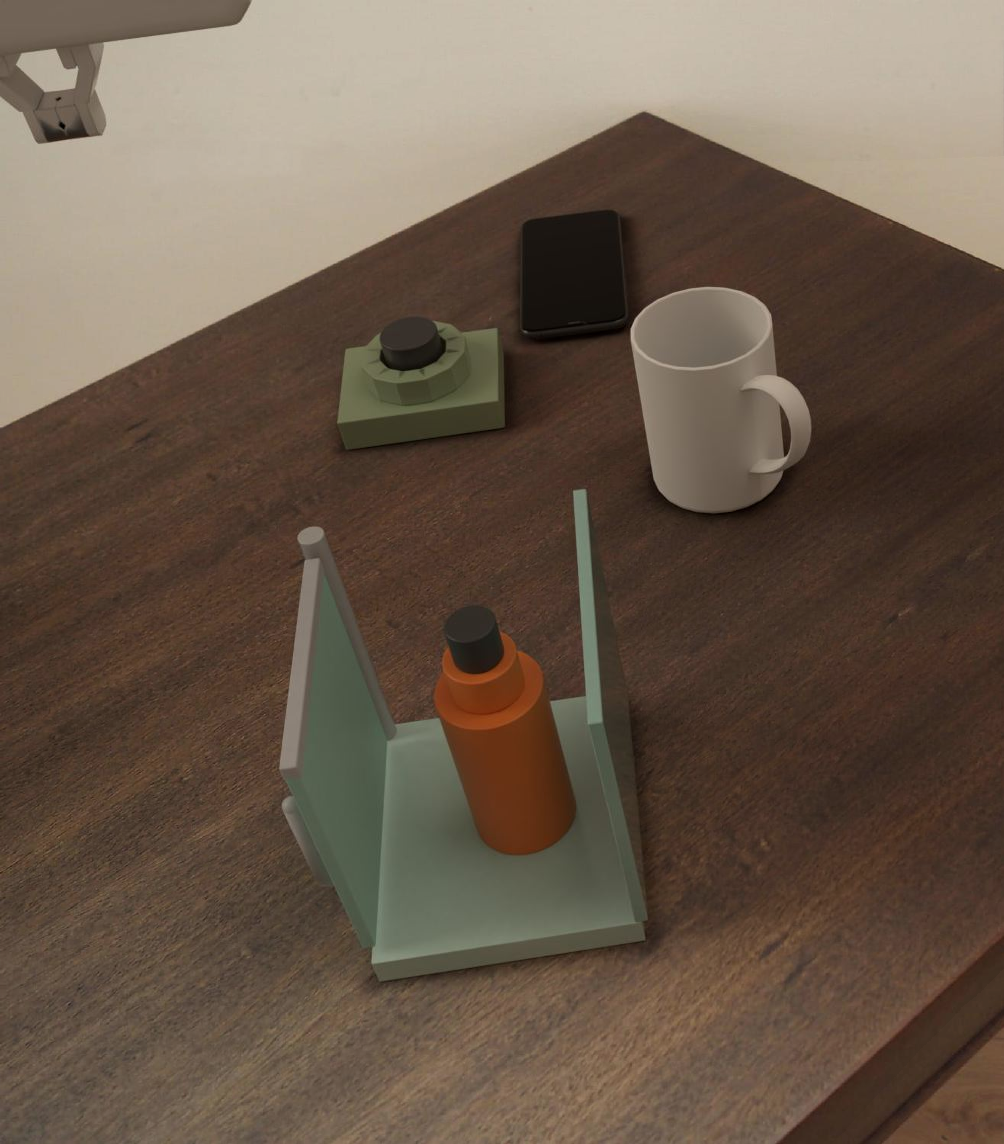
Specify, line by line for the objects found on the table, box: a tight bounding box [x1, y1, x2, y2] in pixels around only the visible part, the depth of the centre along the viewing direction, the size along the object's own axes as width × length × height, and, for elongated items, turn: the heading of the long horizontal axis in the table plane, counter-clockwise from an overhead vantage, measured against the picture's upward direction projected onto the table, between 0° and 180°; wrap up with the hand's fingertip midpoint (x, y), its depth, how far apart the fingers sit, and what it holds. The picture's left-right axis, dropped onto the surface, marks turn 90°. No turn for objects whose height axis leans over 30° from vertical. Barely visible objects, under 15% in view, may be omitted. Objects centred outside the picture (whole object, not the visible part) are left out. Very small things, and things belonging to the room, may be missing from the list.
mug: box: [630, 286, 812, 514], centre depth 89 cm, size 12×8×10 cm, turn 41°
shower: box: [296, 488, 649, 983], centre depth 70 cm, size 13×14×15 cm
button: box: [379, 315, 443, 371], centre depth 98 cm, size 4×4×2 cm
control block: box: [336, 320, 506, 451], centre depth 100 cm, size 10×8×4 cm
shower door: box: [278, 558, 387, 949], centre depth 69 cm, size 2×12×12 cm, turn 7°
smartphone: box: [518, 209, 630, 341], centre depth 110 cm, size 7×1×15 cm
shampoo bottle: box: [433, 604, 576, 855], centre depth 70 cm, size 5×5×13 cm
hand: (73, 134), depth 73 cm, fingers closed
